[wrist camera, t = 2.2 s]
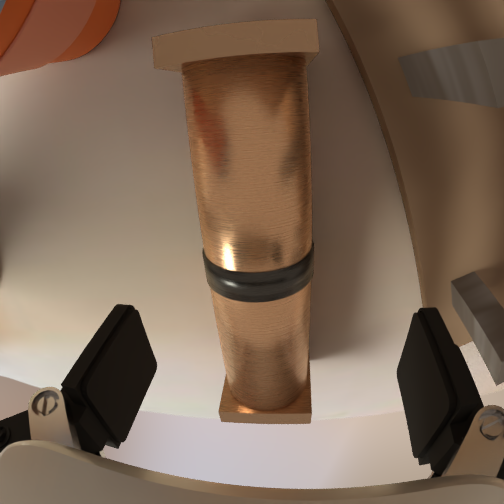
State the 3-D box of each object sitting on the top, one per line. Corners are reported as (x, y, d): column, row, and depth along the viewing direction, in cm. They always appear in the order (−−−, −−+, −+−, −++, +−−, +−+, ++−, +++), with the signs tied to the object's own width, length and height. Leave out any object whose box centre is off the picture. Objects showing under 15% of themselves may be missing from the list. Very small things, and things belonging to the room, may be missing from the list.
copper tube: (308, 360, 22) (310, 423, 17) (232, 360, 23) (221, 421, 18) (305, 43, 13) (316, 18, 8) (193, 53, 14) (151, 37, 9)
